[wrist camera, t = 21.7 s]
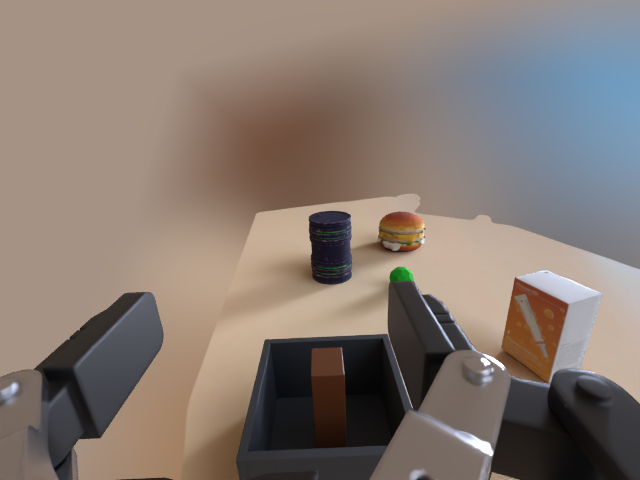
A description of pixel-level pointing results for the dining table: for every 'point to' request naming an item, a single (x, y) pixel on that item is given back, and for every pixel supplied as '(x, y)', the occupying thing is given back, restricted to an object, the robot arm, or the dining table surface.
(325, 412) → the chocolate carton
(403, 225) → the burger
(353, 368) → the waste bin
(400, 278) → the polyhedron
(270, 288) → the dining table surface
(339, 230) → the navy striped cylinder
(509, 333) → the small box
